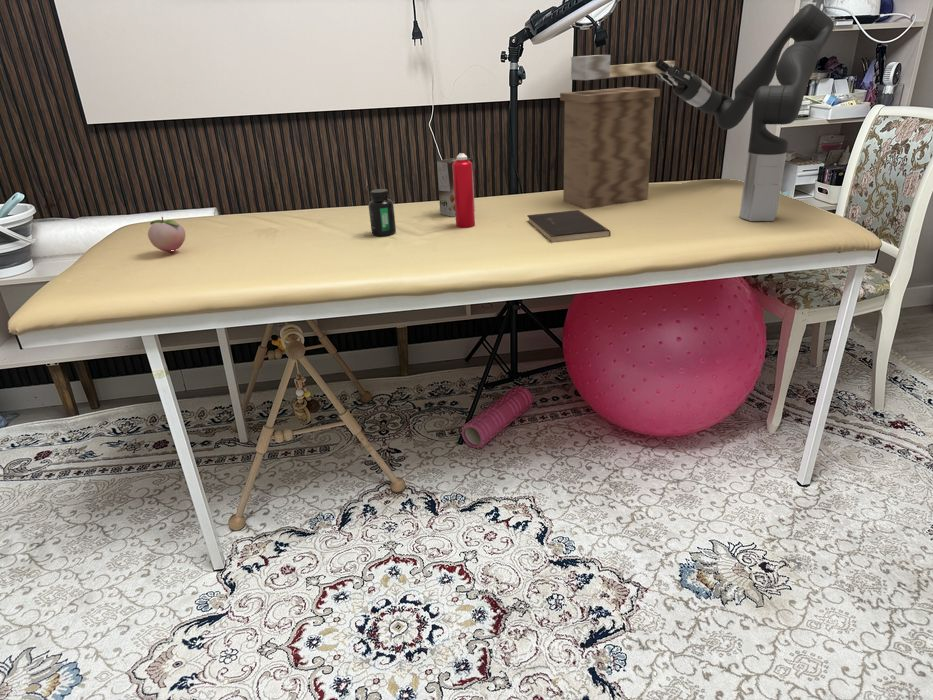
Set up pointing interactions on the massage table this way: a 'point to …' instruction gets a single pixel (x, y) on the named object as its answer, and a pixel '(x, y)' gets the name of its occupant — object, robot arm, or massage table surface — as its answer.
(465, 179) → the bottle
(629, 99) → the plinth
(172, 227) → the decorative fruit
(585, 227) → the hardcover book
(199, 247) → the massage table surface
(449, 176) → the coffee box
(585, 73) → the bar
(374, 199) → the supplement bottle
